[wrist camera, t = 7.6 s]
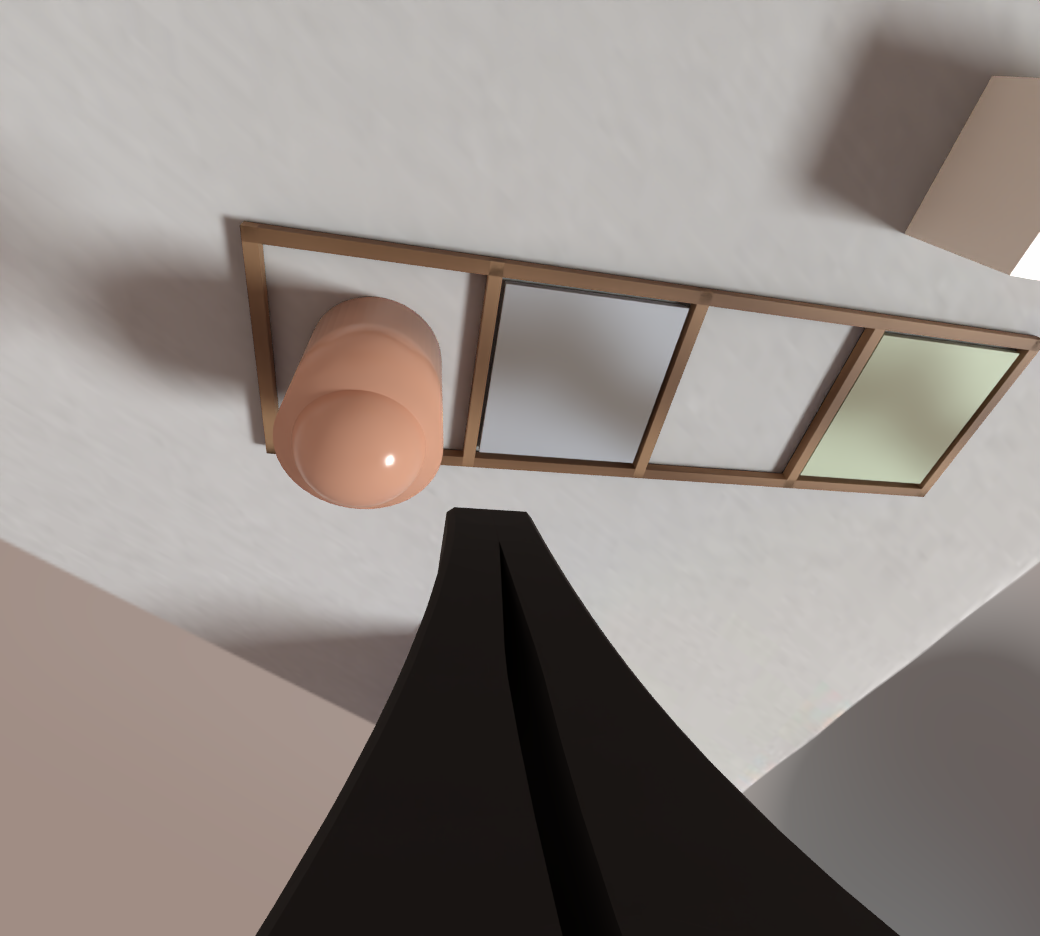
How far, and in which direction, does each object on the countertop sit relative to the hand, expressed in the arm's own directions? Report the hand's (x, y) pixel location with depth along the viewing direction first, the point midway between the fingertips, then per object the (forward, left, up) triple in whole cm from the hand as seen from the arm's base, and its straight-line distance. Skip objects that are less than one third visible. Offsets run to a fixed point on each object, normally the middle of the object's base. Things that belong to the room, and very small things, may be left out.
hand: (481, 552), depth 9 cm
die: (+7, -15, -10) cm, 19 cm away
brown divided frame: (-1, -7, -9) cm, 12 cm away
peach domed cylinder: (-1, +3, -9) cm, 10 cm away
